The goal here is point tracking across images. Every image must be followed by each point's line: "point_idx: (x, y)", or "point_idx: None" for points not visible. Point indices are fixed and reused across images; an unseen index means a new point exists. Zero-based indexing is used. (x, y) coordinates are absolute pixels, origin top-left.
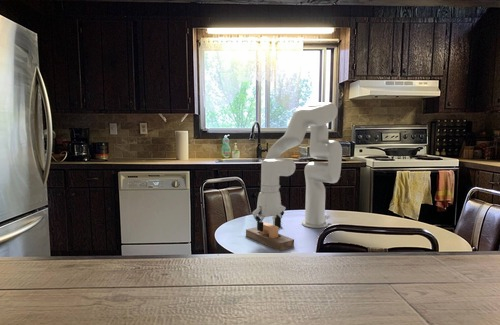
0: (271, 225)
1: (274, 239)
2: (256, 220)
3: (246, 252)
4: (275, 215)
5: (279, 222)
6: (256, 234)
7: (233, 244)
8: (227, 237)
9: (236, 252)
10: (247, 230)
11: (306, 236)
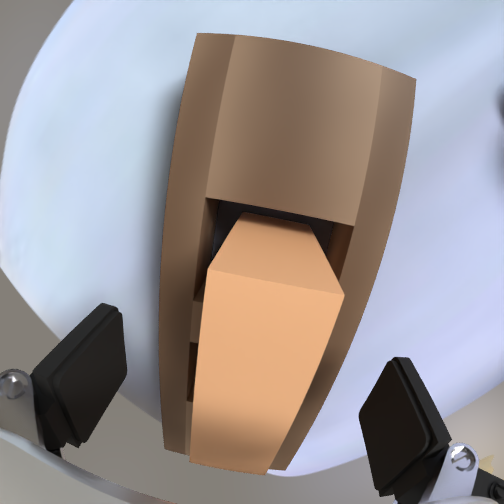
0: (254, 430)
1: (187, 417)
2: (6, 385)
3: (35, 309)
4: (435, 478)
5: (369, 460)
6: (165, 231)
7: (33, 165)
8: (94, 20)
9: (6, 272)
10: (191, 60)
11: (474, 381)
